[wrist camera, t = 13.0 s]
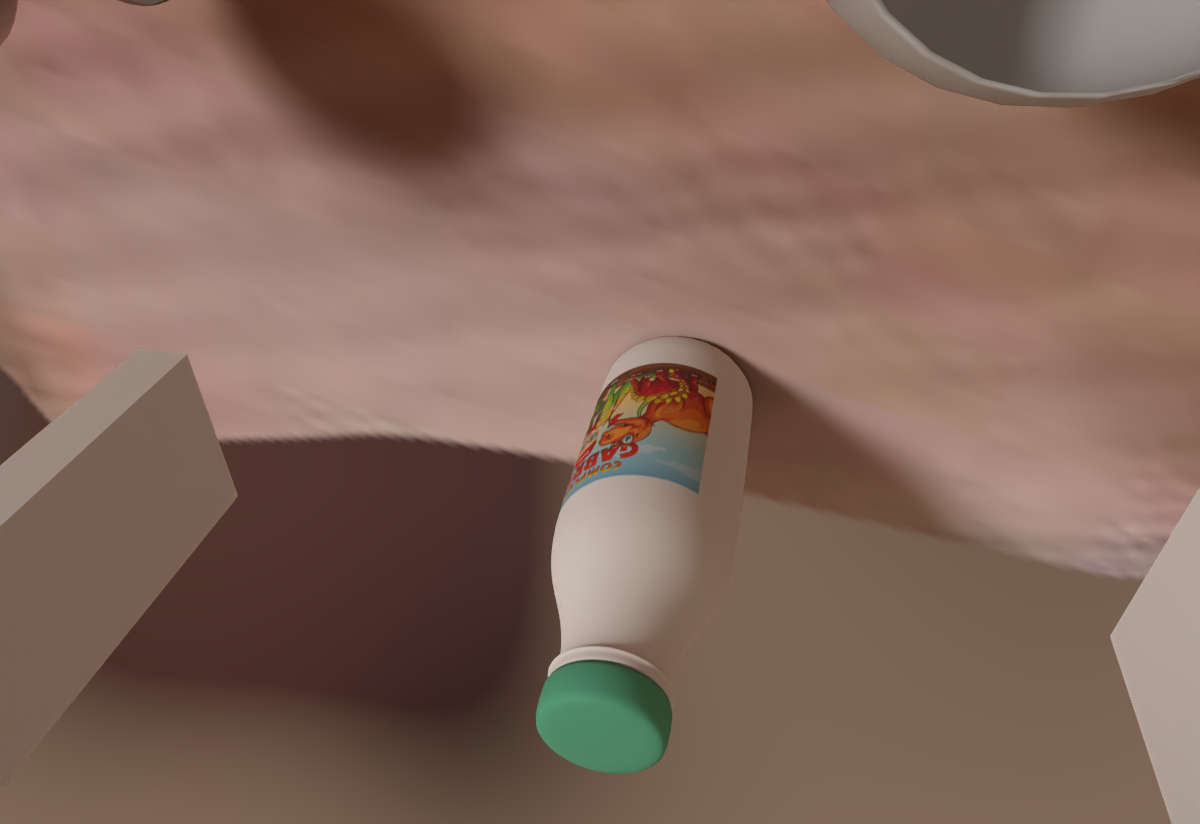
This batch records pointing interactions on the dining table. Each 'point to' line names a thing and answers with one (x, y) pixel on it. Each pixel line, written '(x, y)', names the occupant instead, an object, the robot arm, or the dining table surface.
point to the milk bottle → (644, 548)
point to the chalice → (1035, 46)
